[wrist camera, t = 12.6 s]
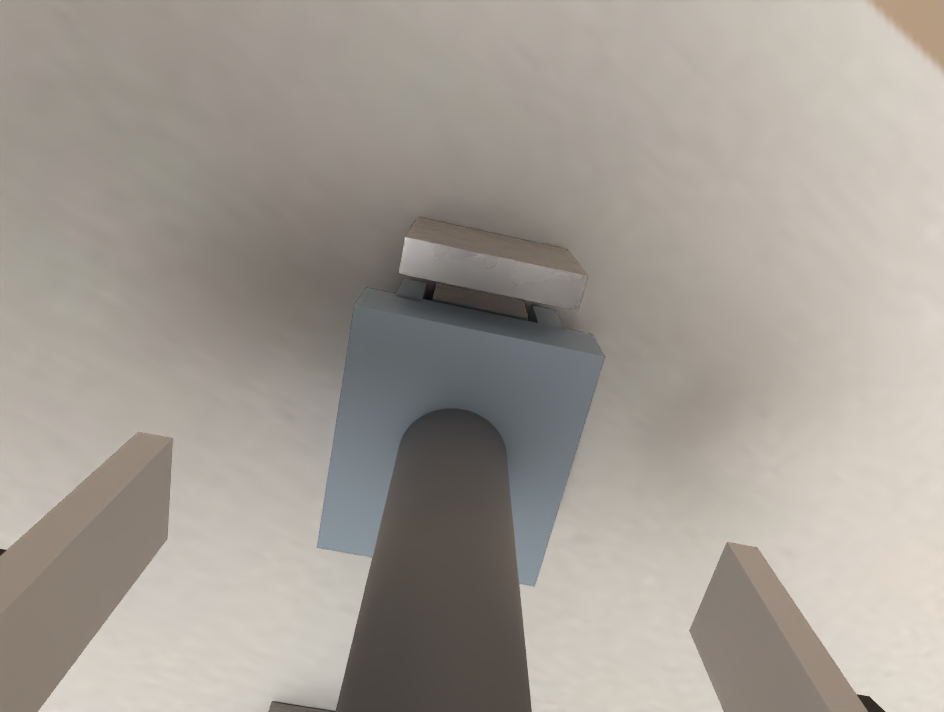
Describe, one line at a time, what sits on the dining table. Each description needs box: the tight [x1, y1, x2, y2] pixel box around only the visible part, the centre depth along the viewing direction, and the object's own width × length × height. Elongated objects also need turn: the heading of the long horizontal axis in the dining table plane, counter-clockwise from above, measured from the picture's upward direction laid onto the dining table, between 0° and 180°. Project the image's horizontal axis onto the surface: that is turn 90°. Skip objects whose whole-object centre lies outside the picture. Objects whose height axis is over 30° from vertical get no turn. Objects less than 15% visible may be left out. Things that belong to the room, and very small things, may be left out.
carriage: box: [317, 279, 605, 712], centre depth 15 cm, size 8×7×15 cm
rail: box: [399, 217, 588, 321], centre depth 22 cm, size 22×5×4 cm, turn 168°
